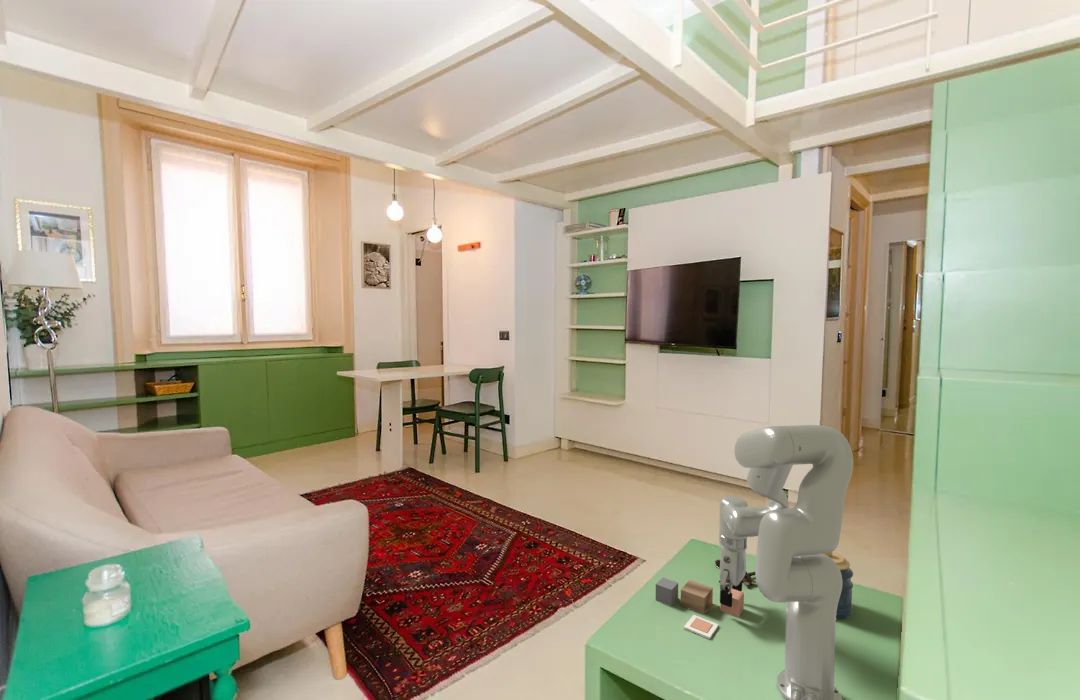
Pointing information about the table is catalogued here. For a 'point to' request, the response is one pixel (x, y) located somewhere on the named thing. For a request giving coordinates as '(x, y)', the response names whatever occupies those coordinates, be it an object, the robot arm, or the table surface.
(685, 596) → the walnut block
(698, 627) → the card
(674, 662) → the table surface
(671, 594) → the charcoal block
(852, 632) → the table surface
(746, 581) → the brown spindly figurine
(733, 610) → the terracotta block
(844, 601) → the canister
